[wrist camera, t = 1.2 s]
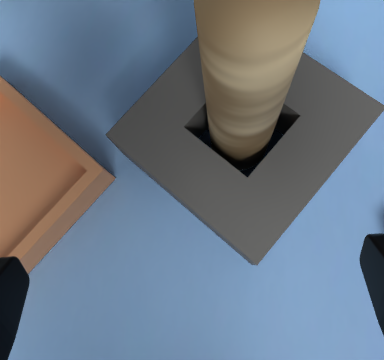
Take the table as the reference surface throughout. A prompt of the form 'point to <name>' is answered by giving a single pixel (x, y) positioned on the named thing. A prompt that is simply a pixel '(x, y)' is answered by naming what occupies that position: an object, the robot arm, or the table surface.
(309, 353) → the table surface
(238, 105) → the dowel
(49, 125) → the tray
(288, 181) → the holder
